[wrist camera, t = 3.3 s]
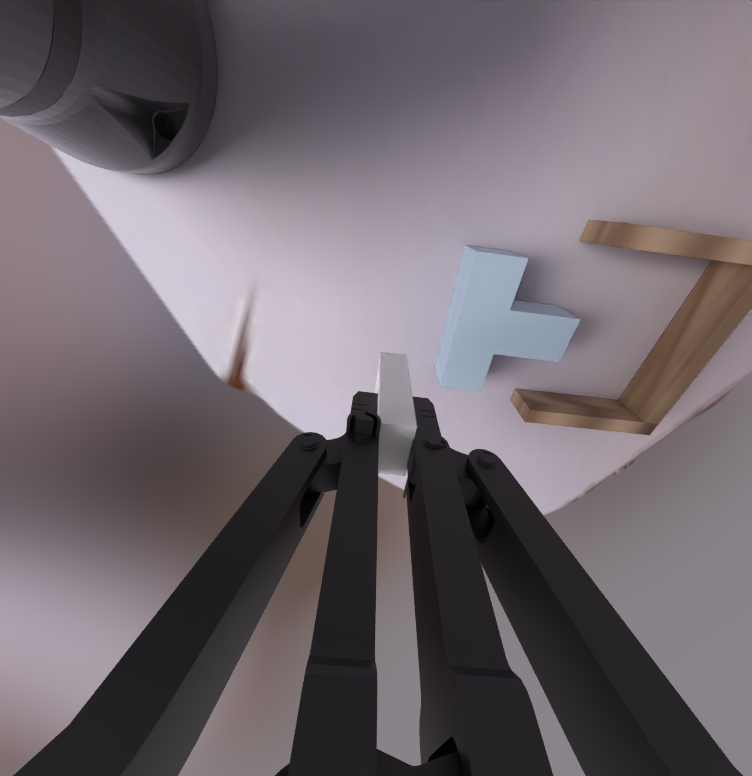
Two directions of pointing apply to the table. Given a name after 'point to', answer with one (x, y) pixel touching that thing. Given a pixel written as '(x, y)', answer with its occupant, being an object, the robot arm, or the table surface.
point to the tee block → (496, 320)
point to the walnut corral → (676, 345)
